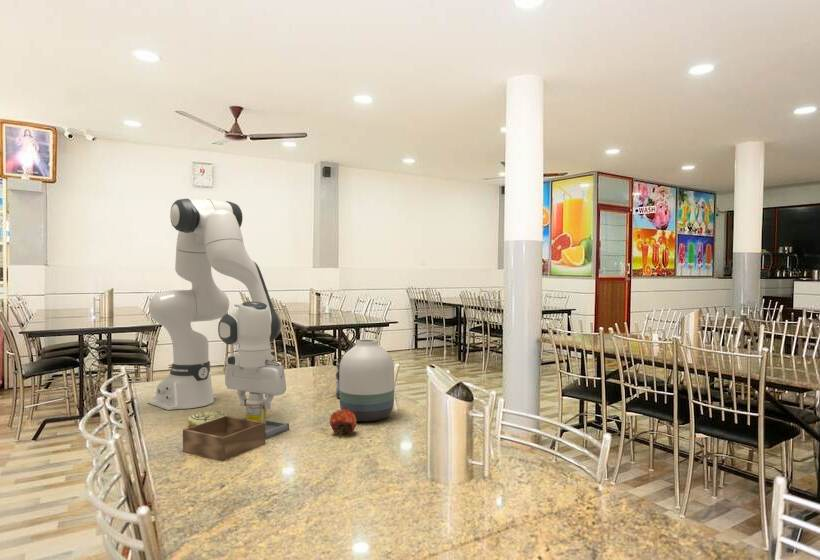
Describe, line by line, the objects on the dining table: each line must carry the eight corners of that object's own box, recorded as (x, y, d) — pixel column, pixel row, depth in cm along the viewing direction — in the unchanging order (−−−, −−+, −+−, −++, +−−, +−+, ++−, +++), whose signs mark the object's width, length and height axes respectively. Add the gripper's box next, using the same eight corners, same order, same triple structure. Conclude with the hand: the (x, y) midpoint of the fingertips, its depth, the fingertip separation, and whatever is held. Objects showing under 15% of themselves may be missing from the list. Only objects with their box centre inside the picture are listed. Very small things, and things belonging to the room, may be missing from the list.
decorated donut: (201, 434, 145) (201, 421, 145) (180, 427, 151) (180, 414, 151) (233, 425, 153) (233, 412, 153) (212, 418, 160) (212, 406, 160)
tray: (221, 431, 147) (221, 425, 147) (247, 422, 156) (247, 416, 156) (264, 440, 139) (264, 433, 139) (289, 429, 148) (289, 423, 148)
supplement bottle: (258, 424, 152) (259, 389, 152) (269, 428, 148) (270, 392, 148) (241, 428, 147) (242, 392, 147) (252, 432, 144) (253, 395, 144)
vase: (401, 412, 166) (401, 338, 166) (381, 428, 150) (381, 345, 150) (353, 408, 172) (353, 335, 171) (329, 422, 156) (329, 342, 155)
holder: (182, 451, 131) (182, 429, 131) (226, 435, 143) (226, 415, 143) (223, 461, 124) (223, 438, 124) (265, 443, 137) (265, 422, 137)
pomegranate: (355, 445, 142) (363, 415, 149) (346, 429, 137) (355, 399, 145) (330, 446, 144) (340, 416, 151) (321, 430, 140) (331, 400, 147)
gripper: (291, 360, 145) (291, 409, 145) (237, 354, 155) (237, 400, 155) (275, 364, 140) (275, 414, 140) (221, 357, 149) (221, 405, 149)
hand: (255, 407), depth 147 cm, fingers open, 7 cm apart
